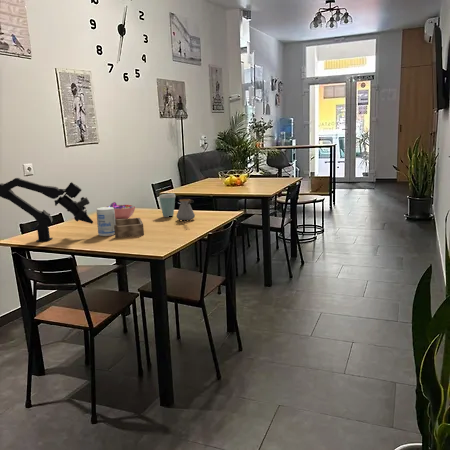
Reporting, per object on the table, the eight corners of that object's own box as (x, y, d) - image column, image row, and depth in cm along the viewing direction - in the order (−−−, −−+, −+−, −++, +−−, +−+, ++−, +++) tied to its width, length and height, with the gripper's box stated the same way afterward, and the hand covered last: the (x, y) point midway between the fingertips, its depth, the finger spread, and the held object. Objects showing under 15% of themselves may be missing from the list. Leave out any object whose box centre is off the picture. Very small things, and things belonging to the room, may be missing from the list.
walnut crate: (115, 237, 239) (114, 225, 237) (113, 229, 258) (112, 218, 257) (144, 235, 243) (143, 222, 241) (140, 227, 262) (139, 216, 261)
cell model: (130, 222, 279) (128, 204, 276) (100, 222, 282) (98, 204, 280) (140, 217, 295) (138, 200, 293) (111, 217, 299) (110, 200, 296)
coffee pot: (174, 219, 283) (173, 195, 280) (192, 217, 287) (190, 194, 283) (183, 225, 263) (182, 200, 260) (202, 223, 267) (201, 198, 264)
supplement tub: (98, 237, 242) (96, 210, 239) (98, 233, 250) (95, 207, 247) (117, 235, 244) (114, 208, 241) (115, 231, 253) (113, 206, 250)
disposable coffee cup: (157, 217, 290) (155, 194, 286) (164, 214, 300) (163, 192, 297) (172, 218, 287) (171, 194, 283) (179, 215, 297) (177, 192, 293)
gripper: (78, 195, 230) (102, 214, 236) (79, 190, 248) (102, 209, 253) (64, 211, 230) (88, 230, 235) (66, 206, 248) (89, 223, 253)
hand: (92, 222), depth 244 cm, fingers closed
